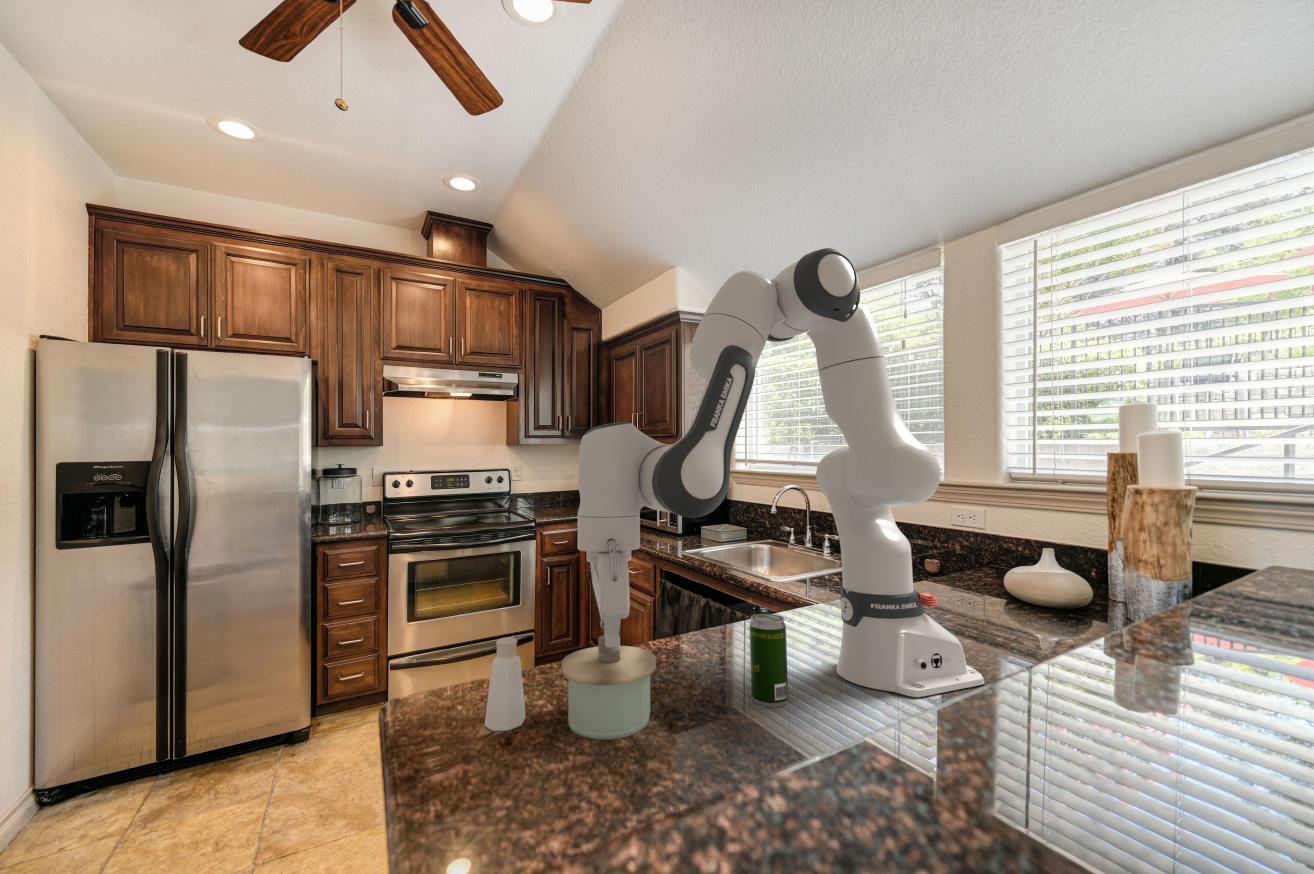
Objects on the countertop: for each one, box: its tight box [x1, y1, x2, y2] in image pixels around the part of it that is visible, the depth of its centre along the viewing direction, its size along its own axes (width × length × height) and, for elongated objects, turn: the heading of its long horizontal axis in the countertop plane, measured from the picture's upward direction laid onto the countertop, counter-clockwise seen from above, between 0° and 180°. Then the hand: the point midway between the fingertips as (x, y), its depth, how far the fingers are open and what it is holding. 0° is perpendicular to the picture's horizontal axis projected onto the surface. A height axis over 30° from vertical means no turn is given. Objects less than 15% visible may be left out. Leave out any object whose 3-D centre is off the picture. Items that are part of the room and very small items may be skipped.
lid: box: [561, 634, 657, 685], centre depth 72 cm, size 13×13×4 cm
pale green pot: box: [567, 675, 651, 741], centre depth 72 cm, size 11×11×7 cm
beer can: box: [749, 613, 789, 708], centre depth 78 cm, size 5×5×12 cm
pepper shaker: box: [484, 636, 526, 732], centre depth 72 cm, size 5×5×11 cm
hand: (609, 636), depth 73 cm, fingers open, 7 cm apart
